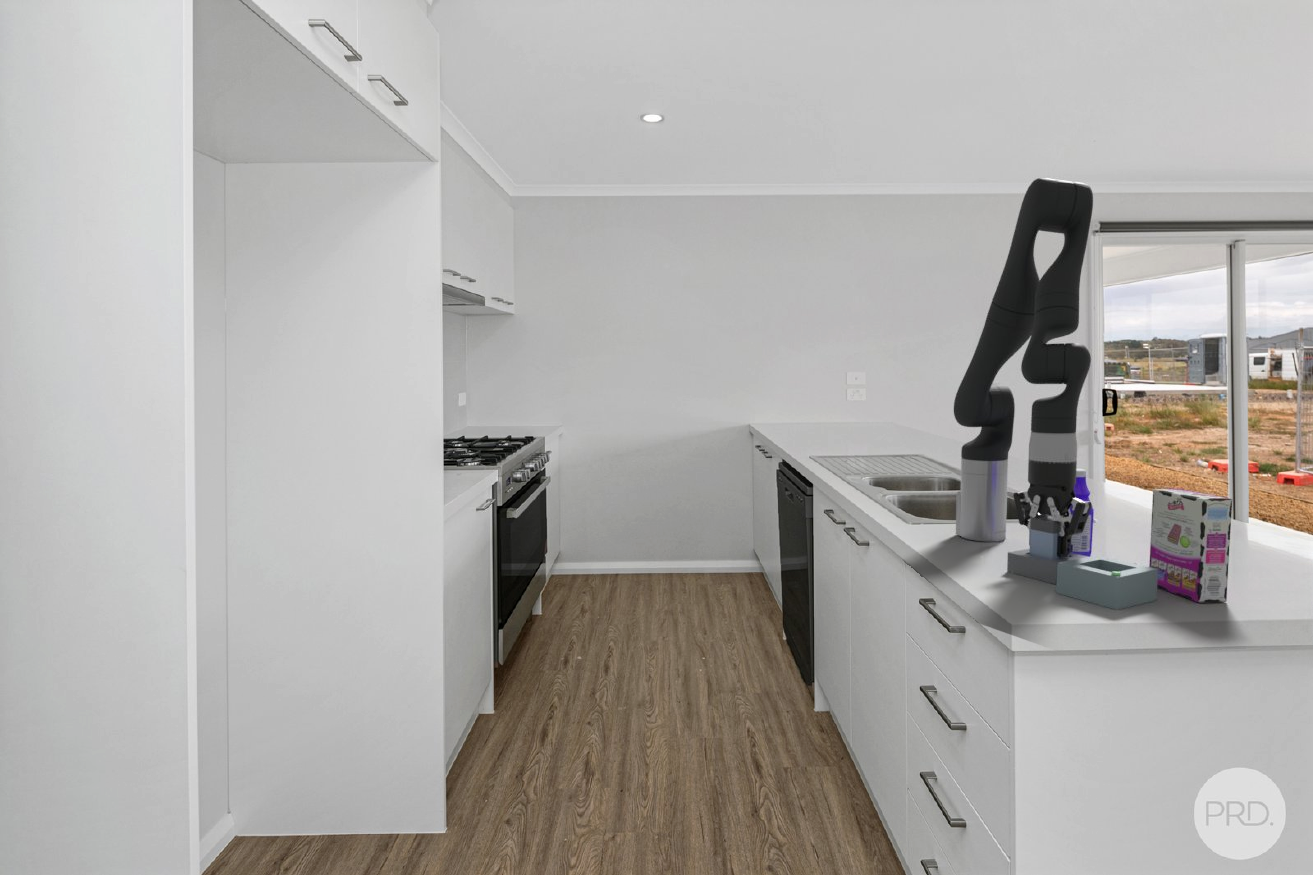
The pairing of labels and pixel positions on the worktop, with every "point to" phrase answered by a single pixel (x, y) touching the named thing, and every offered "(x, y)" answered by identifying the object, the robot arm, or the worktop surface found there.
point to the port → (1107, 581)
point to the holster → (1036, 565)
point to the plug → (1044, 538)
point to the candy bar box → (1191, 543)
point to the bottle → (1084, 540)
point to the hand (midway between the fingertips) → (1049, 553)
